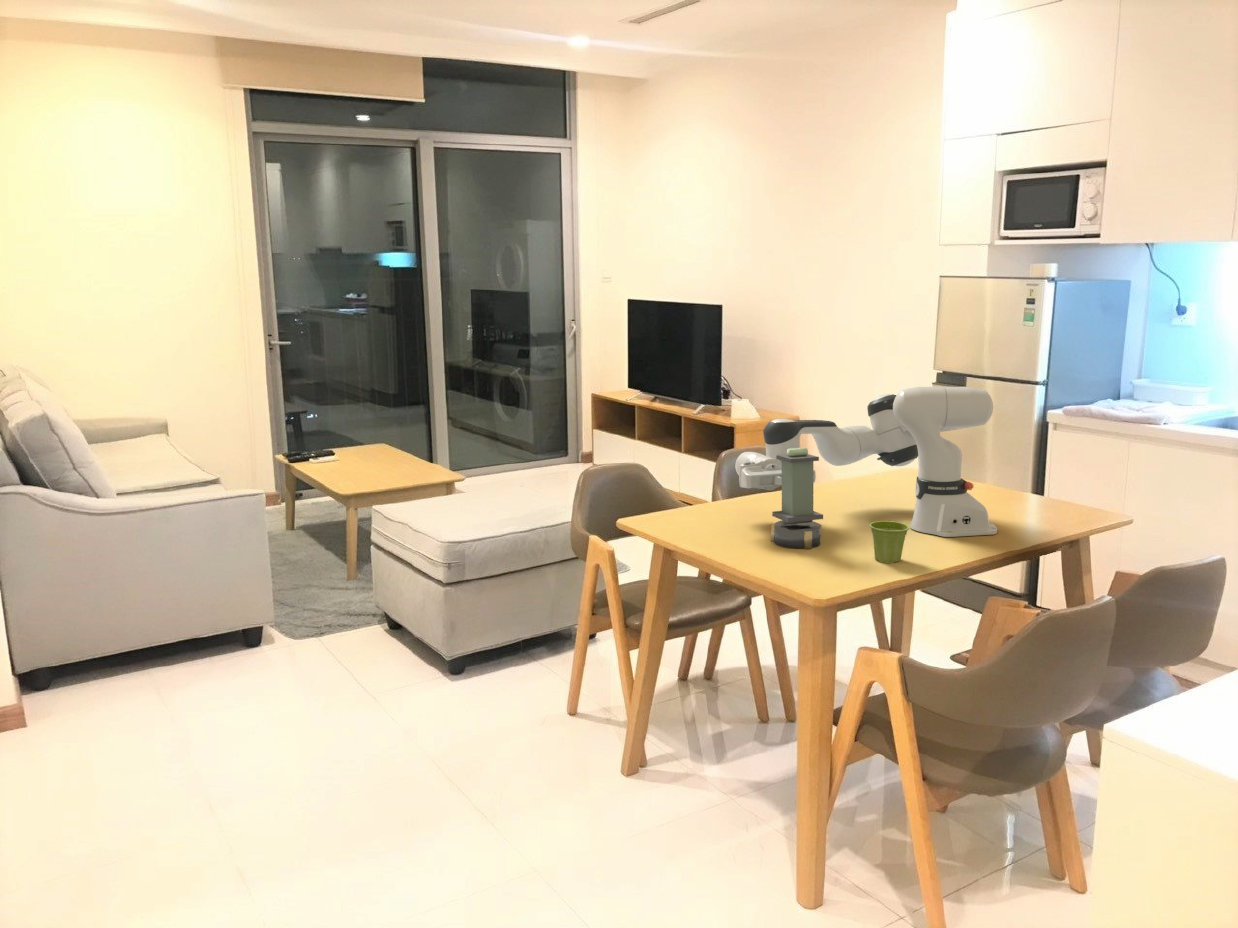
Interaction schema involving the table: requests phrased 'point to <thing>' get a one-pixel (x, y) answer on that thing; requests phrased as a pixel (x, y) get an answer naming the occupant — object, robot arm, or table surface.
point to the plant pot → (888, 540)
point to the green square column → (797, 487)
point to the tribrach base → (796, 535)
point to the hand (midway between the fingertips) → (790, 482)
